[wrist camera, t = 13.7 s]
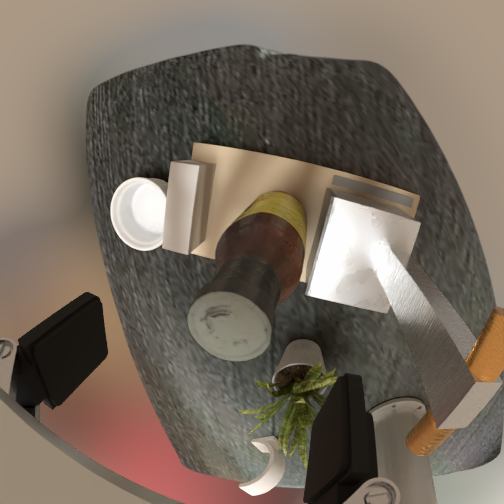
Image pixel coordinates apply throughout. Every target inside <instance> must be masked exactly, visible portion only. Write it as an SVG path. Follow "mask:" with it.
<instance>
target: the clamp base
mask: <svg viewBox="0 0 504 504" xmlns="http://www.w3.org/2000/svg"><path fill="white" fill-rule="evenodd" d="M326 188H330V189H334V190H338V191H342V192H345V193H349V194H353V195H356V196H360V197H363V198H367V199H370V200H374V201H377V202H380V203H384V204H387V205H390V206H393V207H397V208H399V209H401V210H402V211H404V212H405V213H407V214H408V215H410V216H411V217H413V218H414V217H415V213H416V210H417V206H418V203H419V199H420V196H419V195H416V194H414V193H411V192H408V191H405V190H402V189H399V188H396V187H393V186H390V185H387V184H384V183H381V182H377V181H374V180H371V179H367V178H364V177H360V176H357V175H353V174H350V173H346V172H343V171H339V170H335V169H331V168H327V167H323V166H319V165H315V164H311V163H307V162H302V161H298V160H294V159H289V158H284V157H280V156H275V155H270V154H265V153H260V152H254V151H249V150H243V149H237V148H231V147H225V146H218V145H212V144H204V143H194V146H193V153H192V159H191V160H183V161H172V162H171V165H170V173H169V181H168V189H167V198H166V208H165V218H164V230H163V243H162V248H164V249H167V250H171V251H175V252H178V253H182V254H186V255H189V254H190V253H192V254H196V255H200V256H204V257H208V258H211V259H215V250H216V247H217V243H218V241H219V239H220V237H221V236H222V234H223V233H224V231H225V230H226V229H227V228H228V227H229V226H230V225H231V224H232V222H234V221H235V220H236V219H237V218H238V216H239V215H241V214H242V212H243V211H244V210H245V209H246V208H247V207H248V206H249V205H250V204H251V203H252V202H253V201H254V200H255V199H256V198H258V197H259V196H261V195H263V194H266V193H269V192H273V191H282V192H286V193H288V194H290V195H292V196H294V197H295V198H297V199H298V200H299V201H300V203H301V205H302V207H303V208H304V210H305V213H306V217H307V235H306V250H305V258H304V263H303V269H302V270H303V271H302V274H301V279H300V281H302V282H305V281H306V266H307V262H308V259H309V255H310V251H311V248H312V244H313V240H314V236H315V233H316V229H317V225H318V221H319V217H320V213H321V209H322V205H323V201H324V196H325V192H326Z"/></svg>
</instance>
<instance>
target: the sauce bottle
mask: <svg viewBox="0 0 504 504" xmlns="http://www.w3.org/2000/svg"><path fill="white" fill-rule="evenodd" d="M306 235H307V217H306V213H305V210H304V208H303V207H302V205H301V203H300V201H299V200H298V199H297V198H295V197H294V196H292V195H290V194H288V193H286V192H282V191H273V192H269V193H266V194H263V195H261V196H259V197H258V198H256V199H255V200H254V201H253V202H252V203H251V204H250V205H249V206H248V207H247V208H246V209H245V210H244V211H243V212H242V214H241V215H239V216H238V218H237V219H236V220H235V221H234V222H232V224H231V225H230V226H229V227H228V228H227V229H226V230H225V231H224V233H223V234H222V236H221V237H220V239H219V241H218V243H217V247H216V250H215V263H216V274H215V277H214V278H213V279H212V280H211V282H210V283H207V284H206V285H205V286H203V287H202V288H201V289H200V290H199V292H198V294H197V295H196V297H195V299H194V301H193V302H192V304H191V306H190V308H189V312H188V316H187V317H188V326H189V330H190V331H191V333H192V335H193V337H194V338H195V340H196V341H197V342H198V343H199V344H200V345H201V346H202V347H203V348H204V349H205V350H206V351H208V352H209V353H211V354H212V355H214V356H216V357H219V358H221V359H224V360H229V361H246V360H249V359H252V358H256V357H257V356H259V355H261V354H262V353H263V352H264V351H265V350H266V349H267V348H268V346H269V344H270V343H271V340H272V337H273V333H274V329H275V308H276V306H277V304H279V303H282V302H283V301H285V300H286V299H287V298H288V297H289V296H290V295H291V293H292V292H293V291H294V290H295V288H296V287H297V285H298V283H299V281H300V279H301V274H302V271H303V270H302V269H303V263H304V258H305V250H306Z"/></svg>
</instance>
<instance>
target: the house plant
mask: <svg viewBox="0 0 504 504" xmlns="http://www.w3.org/2000/svg"><path fill="white" fill-rule="evenodd" d="M335 369H336V368H335ZM335 369H334V370H333V371H331V372H328V373H326V369H325V365H324V361H323V357H322V353H321V349H320V347H319V346H318V345H317V344H316V343H315V342H313V341H311V340H308V339H299V340H295V341H293V342H291V343H290V344H289V345H288V346H287V347H286V349H285V352H284V354H283V356H282V358H281V360H280V363H279V365H278V367H277V369H276V371H275V374H274V376H273V378H272V383H267V382H266V383H264V382H260V381H258V380H256V379H255V382H256V385H257V386H258V387H260V388H267V389H268V392H269V393H270V394H271V395H272V396H274V397H281V396H283V397H282V399H280V400H279V401H277V402H276V403H278V402H279V403H278V404H277V405H275V404H276V403H273V404H271V405H267V406H264V407H261V408H259V409H255V410H237V409H236V410H237V411H239V412H242V413H244V414H256V413H260V412H263V411H266V410H268V409H269V408H271V407H272V406H274V405H275V406H274V407H273V408H272V409H270V410H269V411H267V412H265V413H263V414H261V415H259V416H257V417H255V418H258V419H260V420H262V421H261V422H260V423H259V424H258V425H257V426H256V427H255V428H254V429H253V430H252V431H251V432H253V431H254V430H256V429H257V428H259V427H260V426H262V425H263V424H264V423H265V422H266V421H267V420H268V419H270V418H271V417H272V416H273V415H274V414H275V413H276V412H278V411H279V409H280V408H281V407H282V406H283V405H284V403H285V402H286V401H287V400H288V399H290V403H289V405H288V408H287V410H286V412H285V415H284V418H283V422H282V425H281V428H280V431H279V435H278V448H279V453H280V452H281V450H282V445H283V450H284V453H285V456H286V454H287V447H288V444H289V436H290V435H291V434H292V432H293V430H294V428H295V426H296V430H295V434H294V438H293V441H292V444H291V450H290V453H289V457H290V456H291V455H292V454H293V453H294V451H295V450H296V447H297V445H298V442H299V455H300V458H301V460H302V462H303V464H304V466H305V467H306V468H307V435H306V430H305V428H310V427H312V425H313V422H314V420H313V418H312V416H311V413H312V414H313V416H314V418H316V416H317V414H316V413H315V411H314V410H313V408H314V407H313V406H312V405H311V404H310V402H309V401H308V400H311V399H314V400H315V401H316V402H317V403H318V404H319V405H320V406H321V407H322V405H321V404H324V402H325V400H326V398H325V397H323V396H322V395H321V394H322V393H323V392H325V390H326V388H327V386H328V385H332V384H334V383H335V382H336V380H335V379H337V378H338V377H339V376H336V377H334V373H335ZM254 378H255V377H254ZM271 387H274V389H275V390H276V391H275V392H271V390H270V388H271ZM318 401H319V402H320V403H321V404H320V403H319V402H318ZM311 406H312V407H313V408H312V407H311ZM316 410H317V409H316ZM310 411H311V412H310ZM317 411H318V410H317ZM296 424H297V425H296ZM251 432H249V433H248V434H250V433H251ZM248 434H247V435H248ZM289 457H288V458H289Z"/></svg>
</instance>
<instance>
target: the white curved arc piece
mask: <svg viewBox="0 0 504 504" xmlns="http://www.w3.org/2000/svg"><path fill="white" fill-rule="evenodd" d="M251 443H252V444H254V445H255V446H256V447H257V448H258V449H259V450H260V451H261V452H262V453H263V452H268V453H270V460H269V463H268V465H267V467H266V469H265V470H264V471H263V473H262V474H261V475H259V476H258V477H257V478H255V479H254V480H252V481H250V482H247V483H242V484H239V488H241V489H242V490H244V491H245V492H247V493H249V494H250V495H252V496H253V495H260V494H263V493H265V492H267V491H269V490H270V489H272V488H273V487H274V486H275V485H276V484H277V483H278V482H279V481H280V480H281V478H282V476H283V474H284V471H285V460H284V458H283V456H282V455H281V454H280V453H279V452H278V451H277V450H279V448H278V440H277V439H276V438H275V437H274V436H269V437H263V438H257V439H252V441H251ZM282 450H283V445H282Z"/></svg>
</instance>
